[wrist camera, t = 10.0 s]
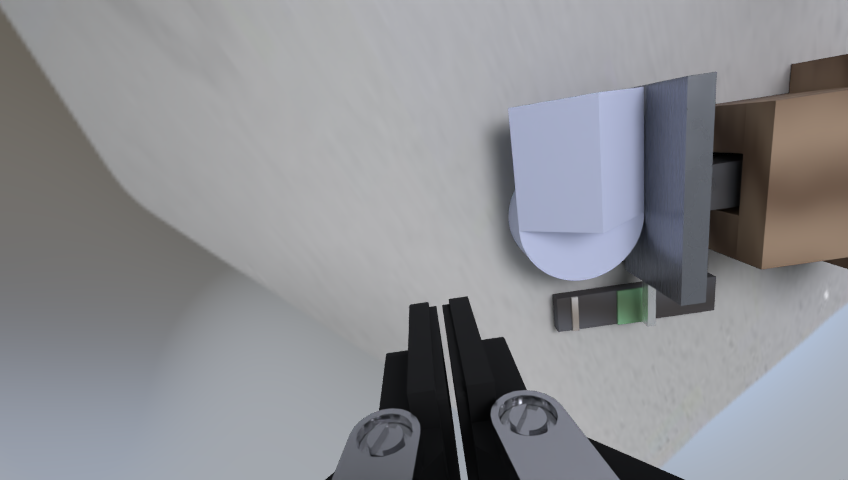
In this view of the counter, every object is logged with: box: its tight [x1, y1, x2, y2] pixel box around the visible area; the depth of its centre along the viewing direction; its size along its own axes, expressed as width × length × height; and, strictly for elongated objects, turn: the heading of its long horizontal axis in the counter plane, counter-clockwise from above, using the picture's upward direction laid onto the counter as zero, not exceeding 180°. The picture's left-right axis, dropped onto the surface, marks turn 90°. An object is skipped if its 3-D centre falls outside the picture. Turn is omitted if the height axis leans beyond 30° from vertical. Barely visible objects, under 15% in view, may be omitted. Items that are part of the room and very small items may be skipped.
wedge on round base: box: [508, 87, 644, 281], centre depth 28 cm, size 9×7×13 cm
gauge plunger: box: [625, 72, 743, 326], centre depth 27 cm, size 18×10×7 cm, turn 8°
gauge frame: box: [553, 54, 848, 332], centre depth 27 cm, size 18×22×8 cm
